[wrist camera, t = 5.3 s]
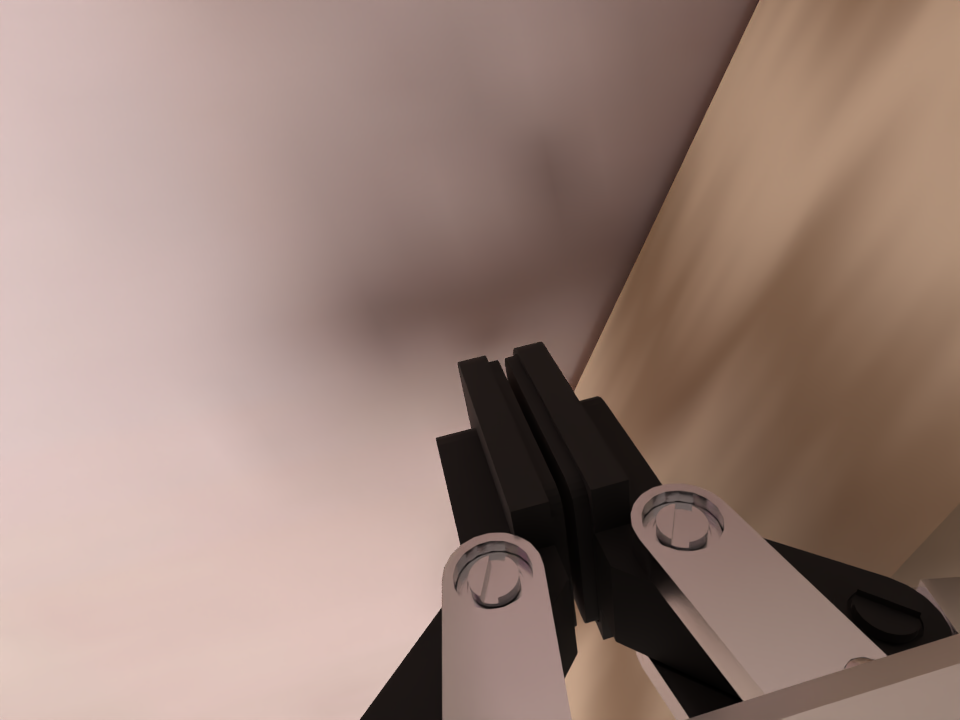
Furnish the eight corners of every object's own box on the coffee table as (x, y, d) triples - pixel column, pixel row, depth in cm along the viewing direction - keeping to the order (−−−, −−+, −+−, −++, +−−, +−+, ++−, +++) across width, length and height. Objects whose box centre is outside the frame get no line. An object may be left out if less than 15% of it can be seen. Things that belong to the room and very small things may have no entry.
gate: (545, 549, 19) (662, 883, 12) (499, 545, 18) (593, 892, 11) (978, -277, 10) (2580, -962, 3) (912, -329, 9) (2655, -1323, 2)
